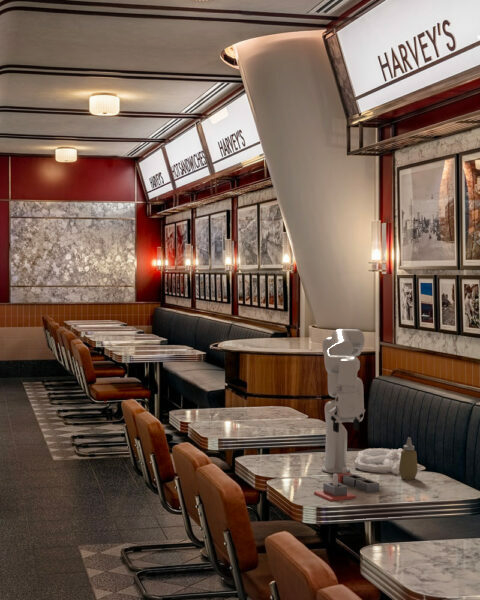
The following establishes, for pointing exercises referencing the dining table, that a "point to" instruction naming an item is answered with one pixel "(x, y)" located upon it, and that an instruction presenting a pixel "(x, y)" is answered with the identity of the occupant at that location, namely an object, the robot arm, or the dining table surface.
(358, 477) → the link
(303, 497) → the dining table surface
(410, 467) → the squeeze bottle
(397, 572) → the dining table surface
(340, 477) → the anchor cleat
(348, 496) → the keeper
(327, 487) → the end link
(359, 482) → the link
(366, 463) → the pretzel
